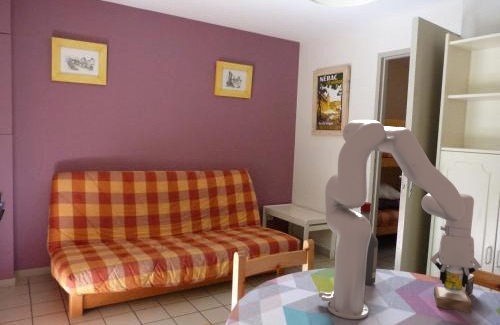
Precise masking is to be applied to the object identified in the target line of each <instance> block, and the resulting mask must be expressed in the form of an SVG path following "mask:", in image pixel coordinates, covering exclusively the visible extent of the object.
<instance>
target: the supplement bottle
mask: <svg viewBox="0 0 500 325" xmlns="http://www.w3.org/2000/svg"><path fill="white" fill-rule="evenodd" d="M445 273H446V276H445V284H443V288H445V289H446V290H448V291H451V292H461V291H462V282H463V270H462V268H461V267H455V266H448V265H447V267H446V269H445Z"/></svg>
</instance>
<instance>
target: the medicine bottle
mask: <svg viewBox="0 0 500 325" xmlns="http://www.w3.org/2000/svg"><path fill="white" fill-rule="evenodd" d="M461 268H462V267H461ZM462 270H463V272H464V269H463V268H462ZM474 282H475V275H474V274H473V273H471V274H470V275H469V276H468V284H466V285H465V287H463V286H462V291H466V292H467V294H468V296H469V297H470V296H472V295H473V294H474V293H473V291H474Z"/></svg>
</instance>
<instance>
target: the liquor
mask: <svg viewBox="0 0 500 325" xmlns="http://www.w3.org/2000/svg"><path fill="white" fill-rule="evenodd" d="M371 211H372V203H371V202H369V201H365V203H364V204H363V205H362V206H361V207H360V214H362V215H364V216H365V217H366V218H367V219H368V221H369V222H370V220H371V219H370V218H371ZM370 223H371V222H370ZM378 247H379V240H378V238H377V237H376V235H375V233H373V232H372V233H371V238H370V242H369V246H368V251H367V262H366V277H365V287H367V286H368V287H369V286H370V287H371V286H373V285H374V284H375V283H376V276H377V264H378V263H377V261H378V249H379V248H378Z"/></svg>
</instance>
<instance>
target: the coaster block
mask: <svg viewBox="0 0 500 325" xmlns="http://www.w3.org/2000/svg"><path fill="white" fill-rule="evenodd" d="M433 296H434V302H435V306H436V307H439V308H443V309H448V310H454V311H461V312H466V313H470V314H471V313H472V301H471V299H470V296H468V294H467V292H466V291H461V292H451V291H448V290H446V289H445V288H444V286H443V287H441V286H436V285H434V290H433Z"/></svg>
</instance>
